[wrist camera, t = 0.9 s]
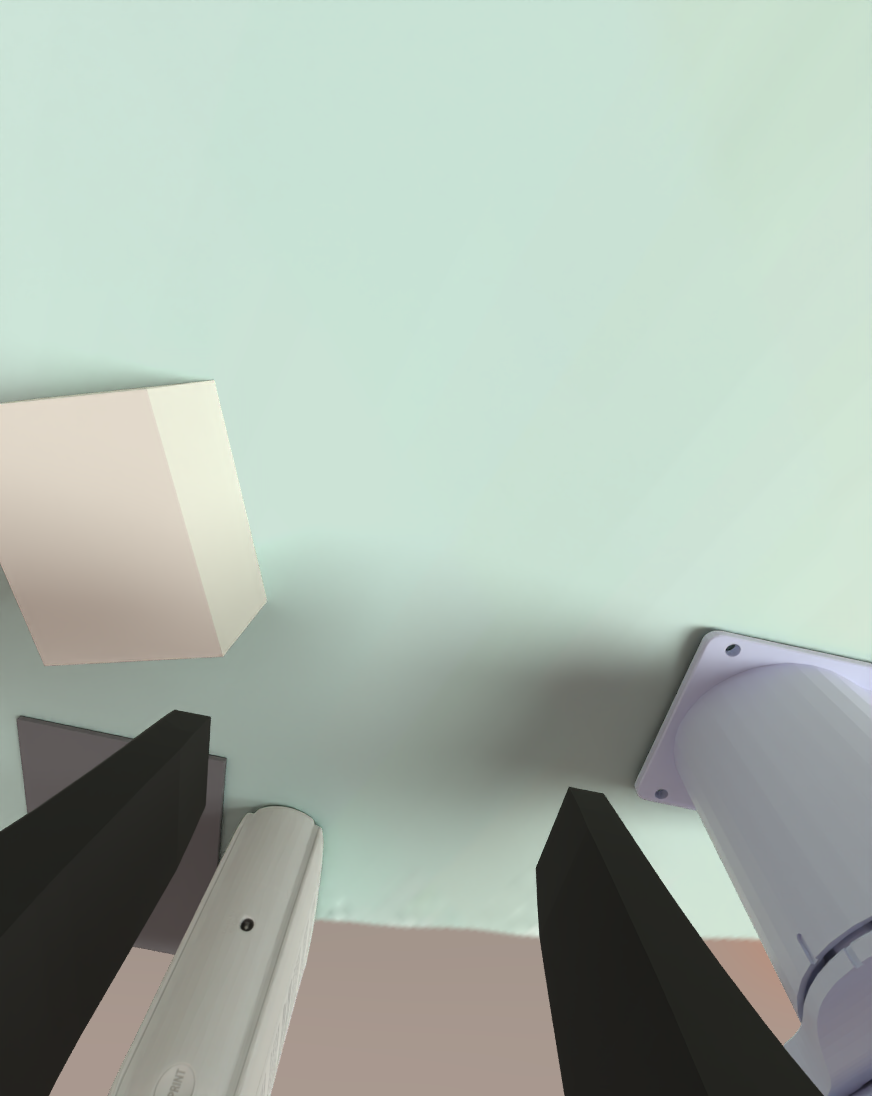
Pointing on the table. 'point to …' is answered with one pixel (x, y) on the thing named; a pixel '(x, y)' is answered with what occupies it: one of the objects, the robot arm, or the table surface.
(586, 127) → the table surface
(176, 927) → the mat
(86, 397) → the card box
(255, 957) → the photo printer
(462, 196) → the table surface
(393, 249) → the table surface
